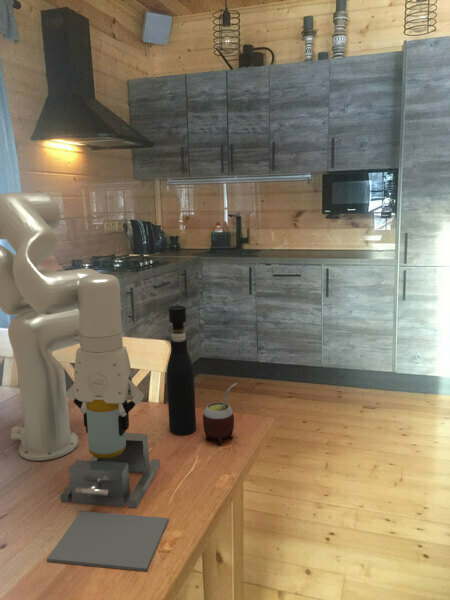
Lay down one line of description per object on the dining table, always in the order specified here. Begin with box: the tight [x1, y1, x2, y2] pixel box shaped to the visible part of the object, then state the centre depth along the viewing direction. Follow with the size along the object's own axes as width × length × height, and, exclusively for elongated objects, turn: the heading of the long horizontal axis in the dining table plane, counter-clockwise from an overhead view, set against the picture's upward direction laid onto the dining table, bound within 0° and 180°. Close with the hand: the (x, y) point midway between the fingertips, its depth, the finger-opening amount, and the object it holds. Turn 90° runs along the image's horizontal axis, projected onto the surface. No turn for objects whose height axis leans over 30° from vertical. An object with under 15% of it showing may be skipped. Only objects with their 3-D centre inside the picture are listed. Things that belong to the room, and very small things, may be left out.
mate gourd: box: [202, 381, 239, 447], centre depth 112 cm, size 8×8×15 cm
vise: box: [60, 432, 161, 509], centre depth 96 cm, size 14×17×7 cm
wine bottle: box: [166, 305, 197, 437], centre depth 116 cm, size 6×6×30 cm
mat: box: [46, 510, 169, 572], centre depth 81 cm, size 16×12×1 cm
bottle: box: [86, 383, 127, 459], centre depth 95 cm, size 7×7×15 cm
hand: (106, 430), depth 96 cm, fingers closed on bottle, 5 cm apart
